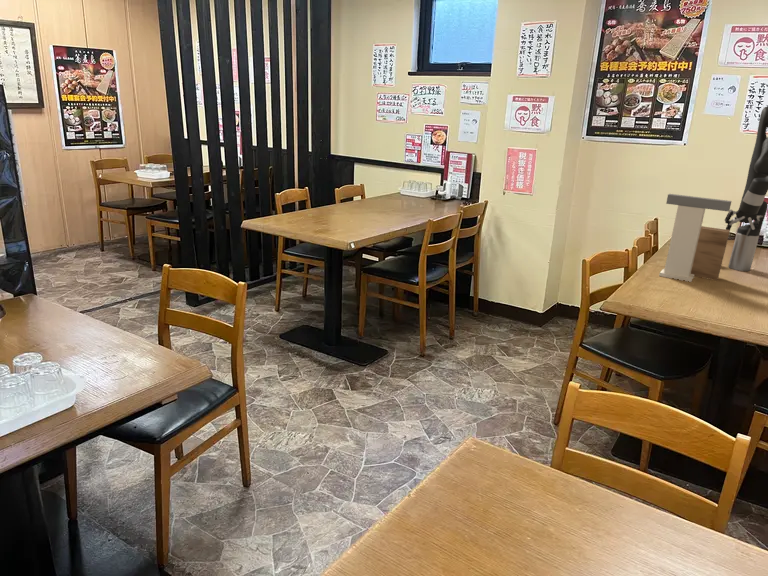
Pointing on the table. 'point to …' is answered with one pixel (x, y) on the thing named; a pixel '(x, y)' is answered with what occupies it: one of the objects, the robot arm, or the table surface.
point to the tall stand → (683, 243)
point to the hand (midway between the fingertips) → (737, 233)
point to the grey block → (699, 202)
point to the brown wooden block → (710, 252)
